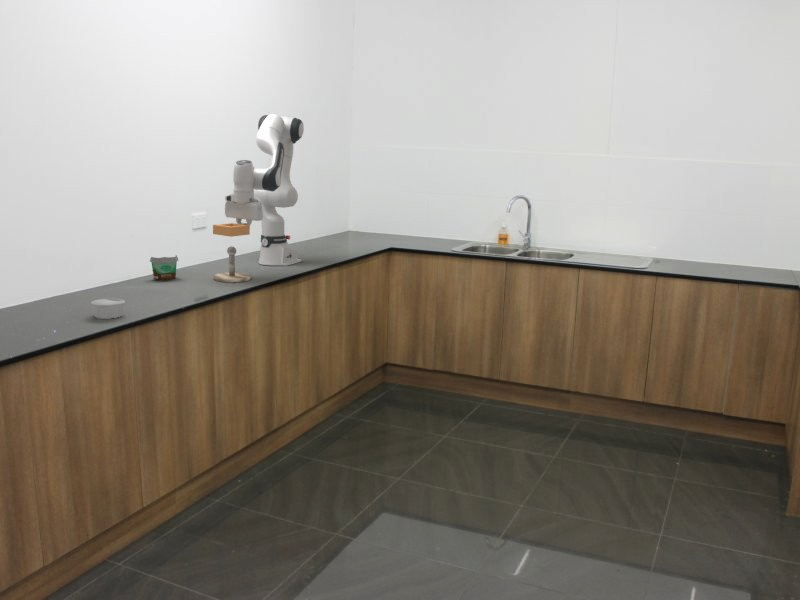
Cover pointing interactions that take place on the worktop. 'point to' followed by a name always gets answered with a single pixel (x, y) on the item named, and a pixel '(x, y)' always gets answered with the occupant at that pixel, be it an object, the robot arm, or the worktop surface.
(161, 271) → the food container
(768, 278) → the worktop surface
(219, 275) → the round peg stand
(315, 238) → the worktop surface
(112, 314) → the ramekin
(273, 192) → the robot arm
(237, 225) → the orange square frame
